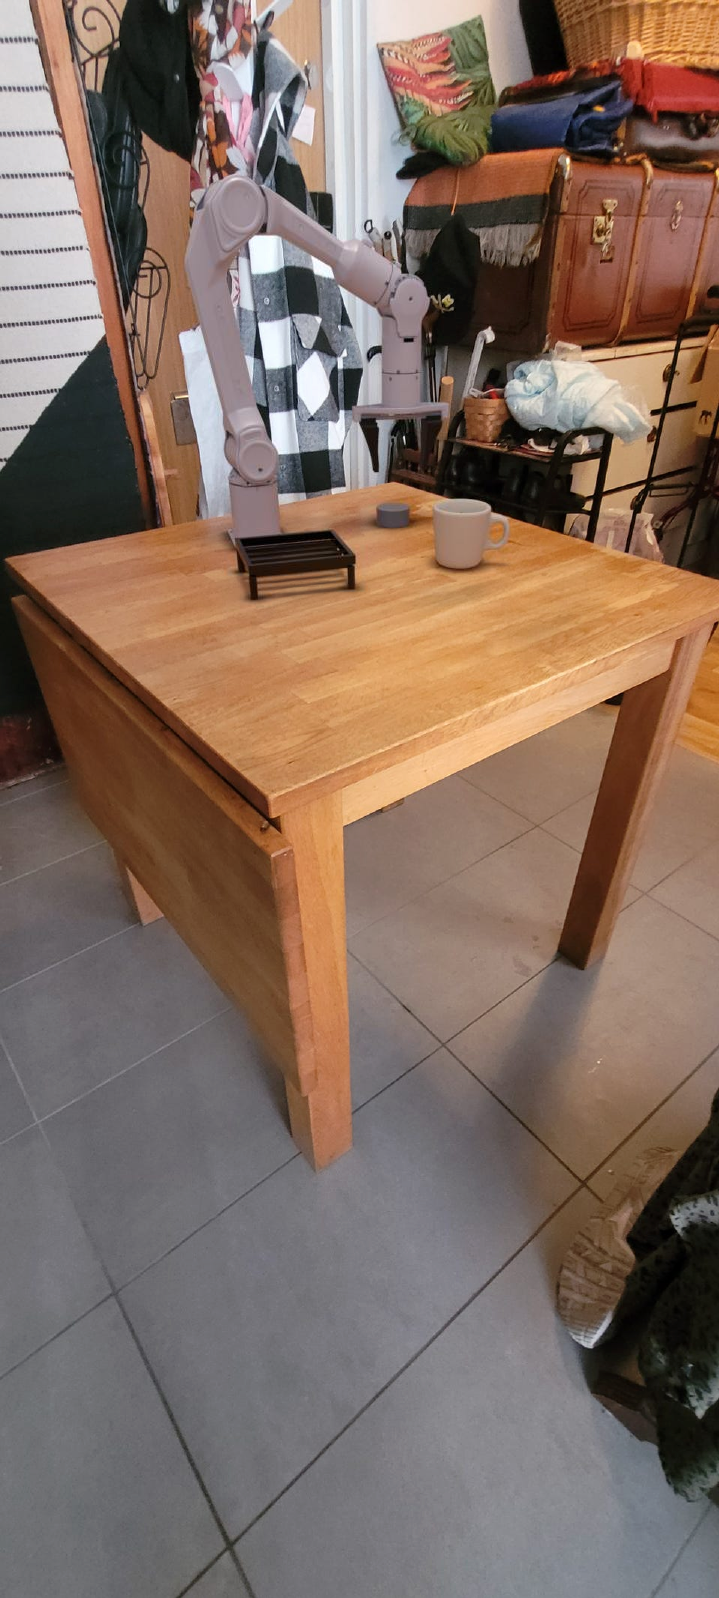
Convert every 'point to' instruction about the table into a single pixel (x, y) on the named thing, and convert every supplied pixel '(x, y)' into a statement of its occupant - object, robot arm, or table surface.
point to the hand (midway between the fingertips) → (399, 469)
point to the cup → (465, 532)
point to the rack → (293, 555)
